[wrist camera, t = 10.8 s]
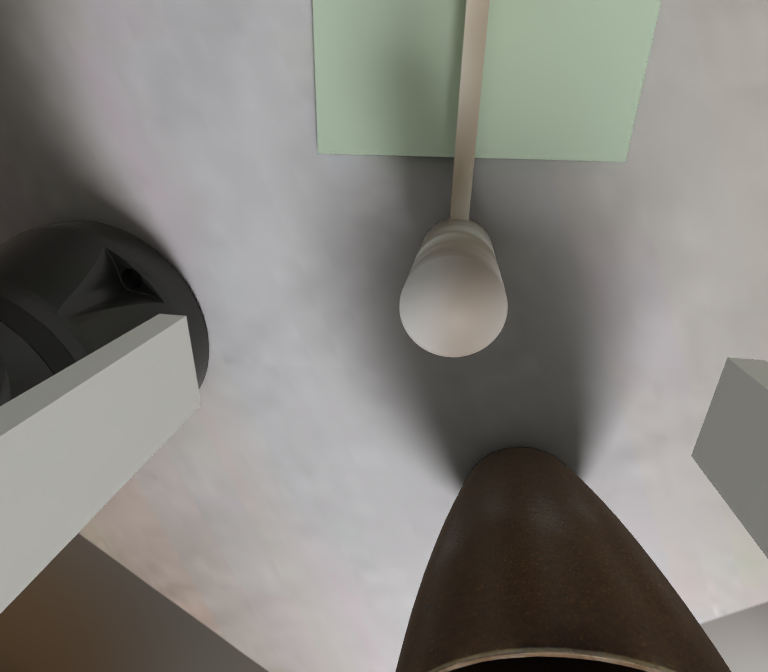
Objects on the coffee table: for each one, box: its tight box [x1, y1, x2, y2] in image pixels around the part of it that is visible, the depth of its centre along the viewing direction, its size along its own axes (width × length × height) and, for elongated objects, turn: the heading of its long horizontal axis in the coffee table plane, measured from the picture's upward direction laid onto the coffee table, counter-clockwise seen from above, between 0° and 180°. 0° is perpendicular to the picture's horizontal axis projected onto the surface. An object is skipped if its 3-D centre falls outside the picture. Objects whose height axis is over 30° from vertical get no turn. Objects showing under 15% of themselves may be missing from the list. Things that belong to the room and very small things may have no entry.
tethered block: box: [399, 0, 508, 357], centre depth 18 cm, size 5×20×9 cm, turn 0°
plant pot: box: [396, 447, 731, 672], centre depth 25 cm, size 15×15×16 cm
